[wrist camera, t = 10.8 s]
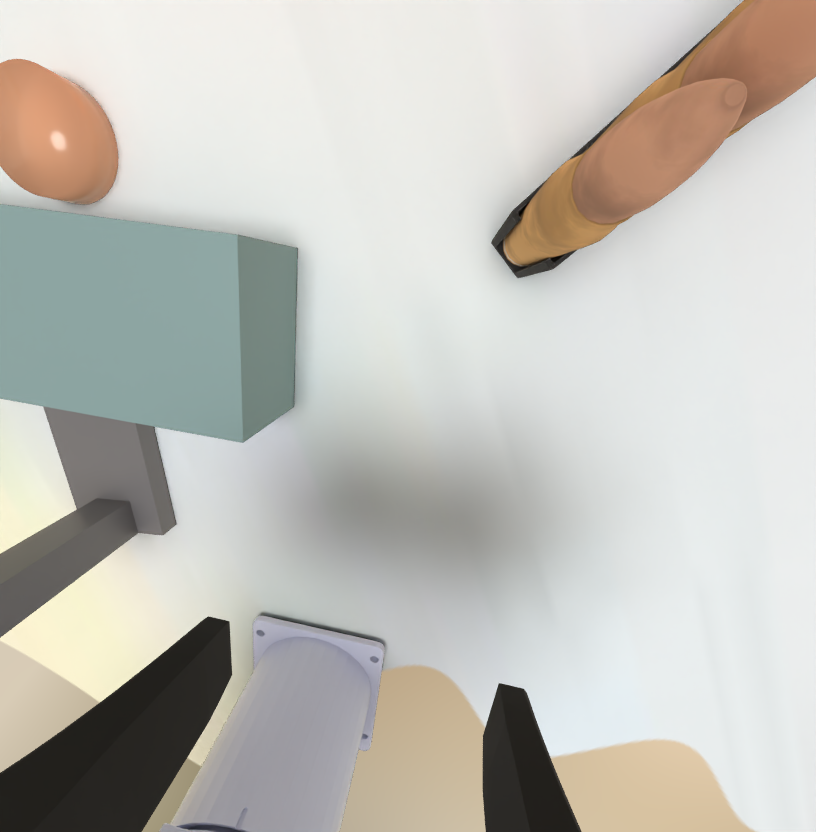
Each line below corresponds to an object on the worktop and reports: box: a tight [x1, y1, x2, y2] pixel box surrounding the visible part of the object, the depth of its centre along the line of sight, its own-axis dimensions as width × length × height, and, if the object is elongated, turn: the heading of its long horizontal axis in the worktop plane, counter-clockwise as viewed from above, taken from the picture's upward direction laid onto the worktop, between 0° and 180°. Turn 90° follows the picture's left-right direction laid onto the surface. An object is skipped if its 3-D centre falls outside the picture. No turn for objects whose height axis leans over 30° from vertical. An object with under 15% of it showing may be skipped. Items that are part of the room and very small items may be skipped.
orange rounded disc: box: [0, 59, 118, 204], centre depth 15 cm, size 4×4×2 cm
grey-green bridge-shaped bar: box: [0, 204, 297, 443], centre depth 16 cm, size 7×20×4 cm, turn 83°
